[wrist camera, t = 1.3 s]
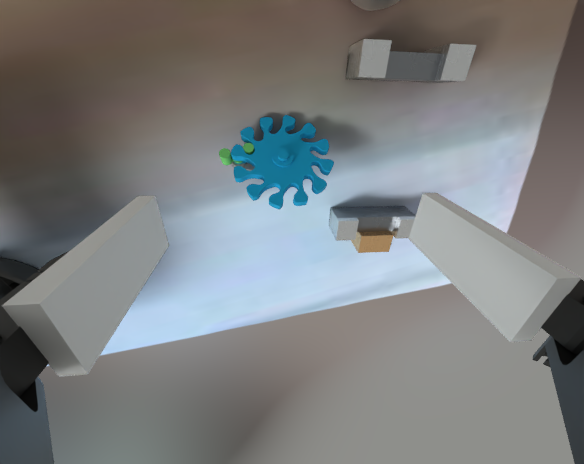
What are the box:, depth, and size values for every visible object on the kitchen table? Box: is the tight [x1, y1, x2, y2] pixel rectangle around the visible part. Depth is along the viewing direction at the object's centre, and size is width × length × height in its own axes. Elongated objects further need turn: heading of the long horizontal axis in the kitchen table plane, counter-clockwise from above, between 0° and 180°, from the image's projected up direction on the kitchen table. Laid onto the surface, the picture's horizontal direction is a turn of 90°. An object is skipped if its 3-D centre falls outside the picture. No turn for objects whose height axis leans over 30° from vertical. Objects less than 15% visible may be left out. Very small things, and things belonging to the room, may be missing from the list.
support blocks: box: [329, 39, 476, 253], centre depth 27 cm, size 10×21×4 cm, turn 178°
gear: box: [219, 115, 334, 209], centre depth 26 cm, size 11×6×10 cm
